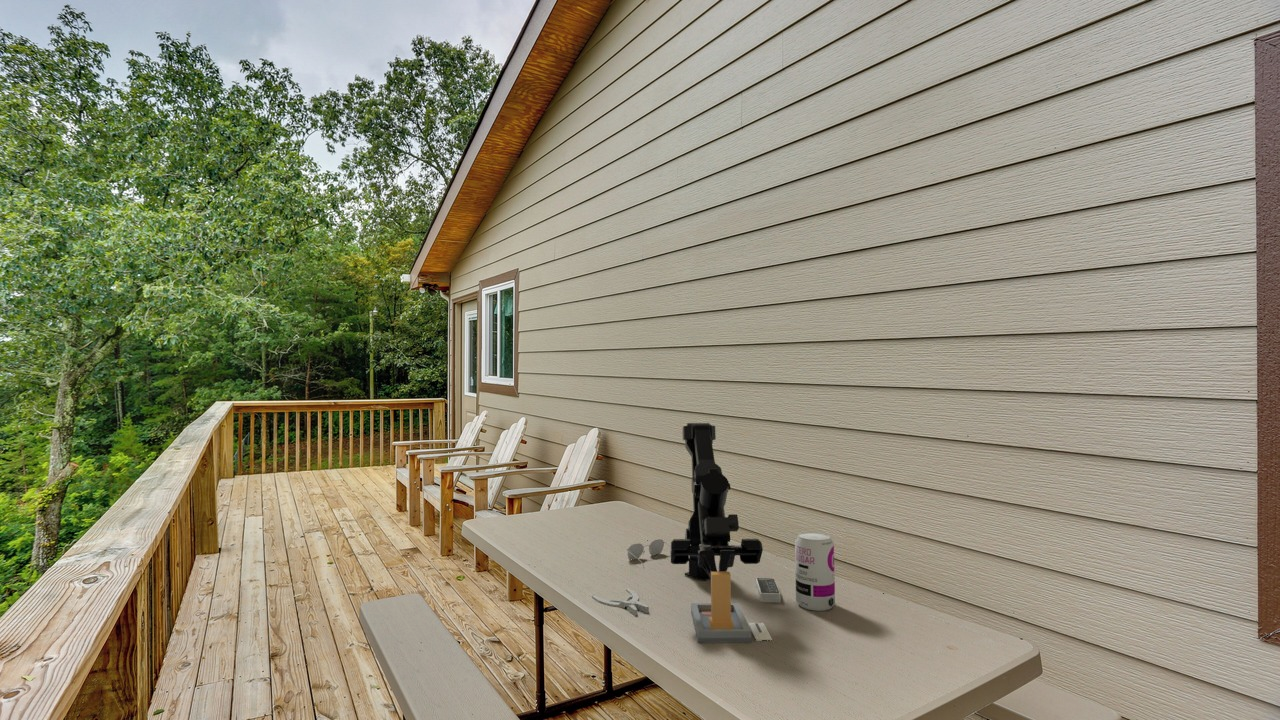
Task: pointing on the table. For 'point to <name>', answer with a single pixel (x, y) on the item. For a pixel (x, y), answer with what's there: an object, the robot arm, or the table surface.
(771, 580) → the multiport hub
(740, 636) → the switch housing
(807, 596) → the supplement can
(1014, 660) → the table surface
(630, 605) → the pliers
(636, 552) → the sunglasses
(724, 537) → the robot arm
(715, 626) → the orange tall block
